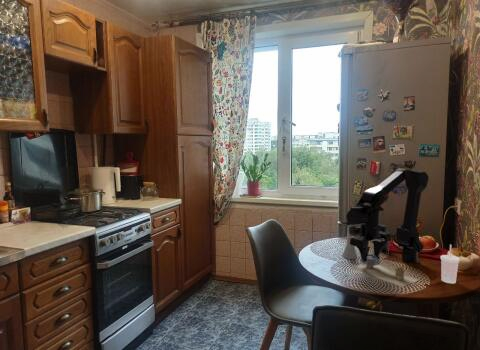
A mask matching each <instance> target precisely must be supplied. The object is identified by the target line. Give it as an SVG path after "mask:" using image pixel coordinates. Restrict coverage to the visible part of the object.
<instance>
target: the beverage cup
mask: <svg viewBox="0 0 480 350" xmlns="http://www.w3.org/2000/svg"><path fill="white" fill-rule="evenodd" d="M439 258H440V260H441V261H440V262H441V263H440V264H441V265H440V266H441V267H440V269H441V270H440V271H441V272H440V273H441V274H440V276H441V279H440V280H441V282H444V283H447V284H456V282H457V277H458V276H457V275H458V268H459V263H460V260H461V259H460V258H459V257H457V256H456V255H455V256H454V255H452V244H449V254H442V255H440V257H439Z"/></svg>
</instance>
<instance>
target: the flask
mask: <svg viewBox="0 0 480 350" xmlns="http://www.w3.org/2000/svg"><path fill="white" fill-rule="evenodd" d="M353 237H354V236H353V235H347V236H346V239H347V240H346V245H345V248H344V250H343V252H342V255H341V257H343V259H347V260H354V259H356V260H357V259H358V253H357V251H356V248H355V247H356V246H353V245H350V239H351V238H353Z"/></svg>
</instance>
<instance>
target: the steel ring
mask: <svg viewBox="0 0 480 350" xmlns="http://www.w3.org/2000/svg"><path fill="white" fill-rule="evenodd" d="M368 256H372V257H373V258H368V257H367V259H366V262H363V260H362V257H361V256H360V262H361V263H360V264H366V265H373V266H376V265H381V264H380V263H381V257H380V255H379V256H378V255H375V254H374V253H370V252H369V253H368Z"/></svg>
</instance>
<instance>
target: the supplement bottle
mask: <svg viewBox="0 0 480 350" xmlns="http://www.w3.org/2000/svg"><path fill="white" fill-rule="evenodd" d="M379 225H381V228H379V231H381V232H385V233H389V231H388V226H387V225H386V224H383V223H382V224H380V223H379ZM384 241H385V239H384ZM386 242H387V244H386V245H385V246H384V248H383V249H382V251H381V252H382V253H383V252H384V253H385V252H388V251H389V247H390V246H389V242H390V241H386ZM372 245H373V246H372V247H373V250H374V244H373V243H372Z"/></svg>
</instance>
